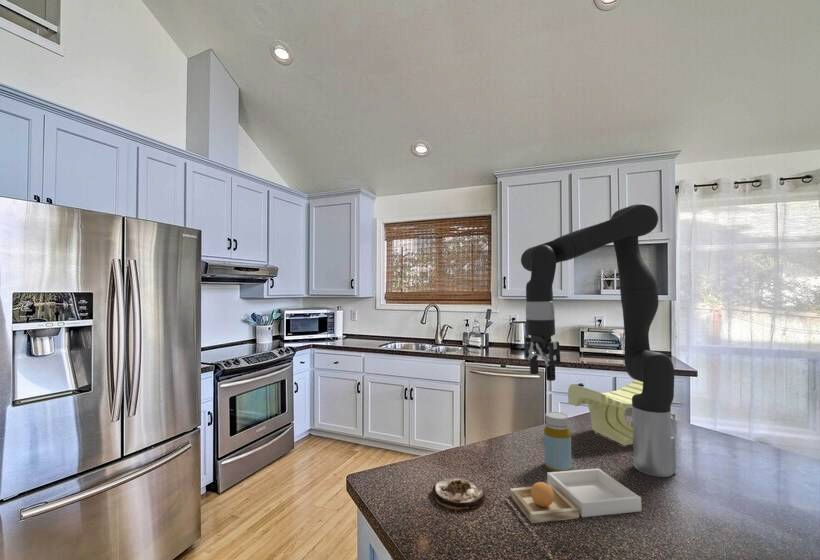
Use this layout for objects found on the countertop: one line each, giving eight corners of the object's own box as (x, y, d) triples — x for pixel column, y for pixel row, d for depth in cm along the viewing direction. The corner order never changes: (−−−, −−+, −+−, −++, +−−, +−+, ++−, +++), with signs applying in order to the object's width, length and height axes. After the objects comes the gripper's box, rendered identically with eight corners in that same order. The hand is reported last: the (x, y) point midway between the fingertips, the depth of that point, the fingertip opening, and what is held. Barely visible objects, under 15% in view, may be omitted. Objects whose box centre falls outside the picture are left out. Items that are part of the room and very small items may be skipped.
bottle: (573, 475, 102) (572, 419, 102) (546, 473, 103) (545, 418, 104) (568, 464, 108) (567, 412, 109) (543, 462, 110) (542, 410, 110)
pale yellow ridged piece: (636, 424, 142) (634, 377, 143) (675, 439, 127) (673, 387, 128) (568, 431, 135) (567, 382, 136) (602, 449, 119) (600, 392, 120)
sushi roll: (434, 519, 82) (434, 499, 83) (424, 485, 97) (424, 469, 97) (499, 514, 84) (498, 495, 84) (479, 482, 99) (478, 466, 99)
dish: (598, 481, 98) (598, 468, 98) (641, 513, 84) (641, 497, 84) (547, 486, 96) (547, 472, 96) (582, 519, 81) (582, 503, 82)
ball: (547, 498, 88) (546, 477, 89) (558, 510, 84) (558, 487, 84) (527, 500, 88) (526, 478, 88) (537, 512, 83) (537, 489, 83)
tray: (552, 494, 92) (551, 484, 92) (579, 520, 81) (578, 509, 81) (510, 498, 90) (510, 488, 90) (532, 525, 79) (531, 514, 79)
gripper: (567, 318, 97) (570, 382, 96) (539, 316, 111) (541, 371, 110) (541, 319, 95) (543, 383, 94) (515, 317, 109) (517, 372, 108)
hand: (542, 377), depth 102 cm, fingers open, 8 cm apart
